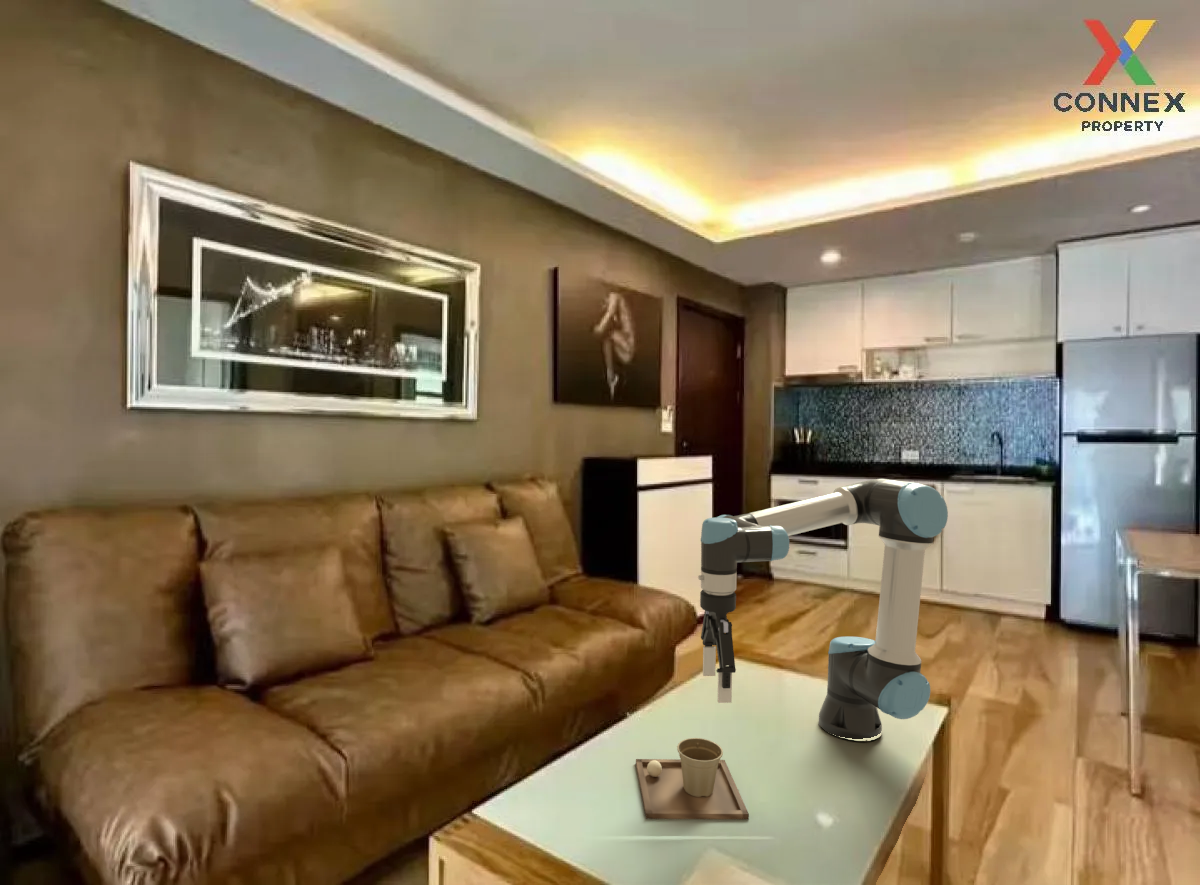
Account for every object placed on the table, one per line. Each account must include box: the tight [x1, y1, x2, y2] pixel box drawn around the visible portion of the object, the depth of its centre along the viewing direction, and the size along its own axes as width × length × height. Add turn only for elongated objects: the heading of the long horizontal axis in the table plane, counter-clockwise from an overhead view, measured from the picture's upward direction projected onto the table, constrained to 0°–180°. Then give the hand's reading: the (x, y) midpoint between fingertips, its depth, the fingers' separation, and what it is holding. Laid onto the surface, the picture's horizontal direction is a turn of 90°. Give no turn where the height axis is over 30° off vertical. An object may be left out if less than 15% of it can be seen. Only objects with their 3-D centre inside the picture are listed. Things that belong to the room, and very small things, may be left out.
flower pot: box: [676, 737, 724, 797], centre depth 136 cm, size 9×9×9 cm
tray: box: [635, 758, 750, 820], centre depth 136 cm, size 20×20×2 cm
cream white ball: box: [647, 760, 662, 777], centre depth 140 cm, size 3×3×3 cm
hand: (716, 688), depth 141 cm, fingers open, 13 cm apart
